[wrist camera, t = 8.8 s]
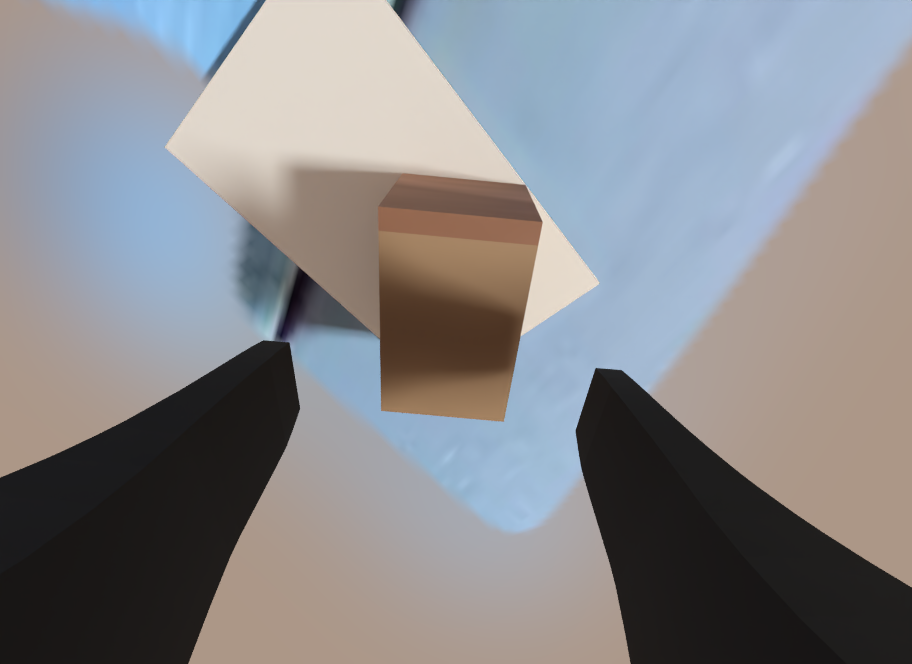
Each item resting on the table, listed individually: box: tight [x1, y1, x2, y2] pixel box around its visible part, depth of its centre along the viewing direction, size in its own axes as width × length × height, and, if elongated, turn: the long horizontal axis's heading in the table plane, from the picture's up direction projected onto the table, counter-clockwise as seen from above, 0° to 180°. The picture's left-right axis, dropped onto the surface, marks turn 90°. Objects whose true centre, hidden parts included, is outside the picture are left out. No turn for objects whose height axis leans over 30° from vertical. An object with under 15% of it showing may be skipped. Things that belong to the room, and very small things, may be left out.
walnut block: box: [378, 173, 543, 422], centre depth 13 cm, size 7×4×4 cm, turn 175°
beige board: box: [165, 0, 600, 339], centre depth 14 cm, size 13×8×1 cm, turn 41°
